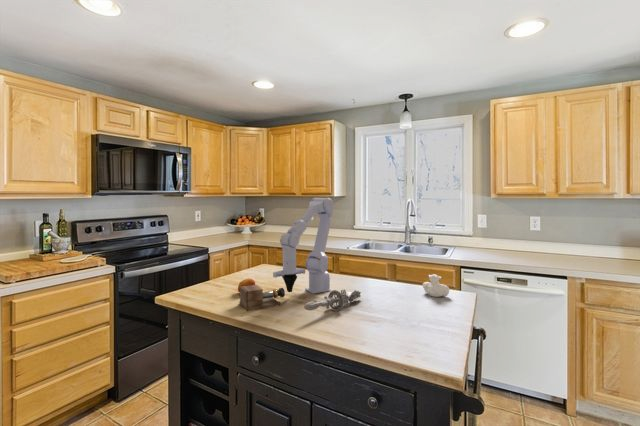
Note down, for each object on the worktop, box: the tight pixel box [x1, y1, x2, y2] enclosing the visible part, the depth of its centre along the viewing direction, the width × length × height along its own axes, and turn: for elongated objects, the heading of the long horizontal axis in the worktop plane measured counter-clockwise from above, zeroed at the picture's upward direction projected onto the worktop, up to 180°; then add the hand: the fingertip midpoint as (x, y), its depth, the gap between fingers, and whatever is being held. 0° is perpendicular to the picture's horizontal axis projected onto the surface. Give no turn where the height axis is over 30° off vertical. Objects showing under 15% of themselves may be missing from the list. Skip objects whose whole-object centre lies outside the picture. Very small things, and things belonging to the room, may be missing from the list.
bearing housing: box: [239, 284, 281, 312], centre depth 135 cm, size 14×10×8 cm
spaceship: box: [304, 289, 363, 311], centre depth 129 cm, size 8×35×8 cm
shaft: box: [263, 287, 286, 299], centre depth 137 cm, size 12×4×4 cm, turn 120°
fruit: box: [237, 277, 256, 293], centre depth 150 cm, size 8×8×8 cm
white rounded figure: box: [421, 273, 450, 298], centre depth 147 cm, size 12×8×11 cm
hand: (289, 291), depth 142 cm, fingers closed
